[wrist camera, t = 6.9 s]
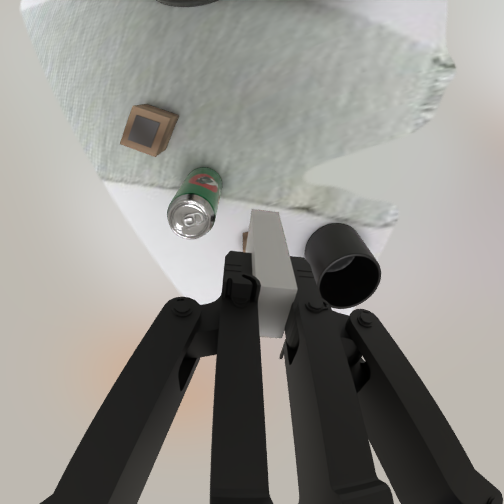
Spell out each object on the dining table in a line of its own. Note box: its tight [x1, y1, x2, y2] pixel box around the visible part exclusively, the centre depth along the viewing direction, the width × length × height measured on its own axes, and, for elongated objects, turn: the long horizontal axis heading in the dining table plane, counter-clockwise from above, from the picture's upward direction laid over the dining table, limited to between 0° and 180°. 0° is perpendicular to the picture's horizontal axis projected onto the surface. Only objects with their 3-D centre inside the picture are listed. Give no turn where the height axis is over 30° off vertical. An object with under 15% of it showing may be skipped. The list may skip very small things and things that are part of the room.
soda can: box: [167, 167, 222, 239], centre depth 32 cm, size 5×5×12 cm
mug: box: [305, 224, 381, 309], centre depth 40 cm, size 9×12×9 cm
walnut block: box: [120, 104, 179, 157], centre depth 30 cm, size 5×5×5 cm
